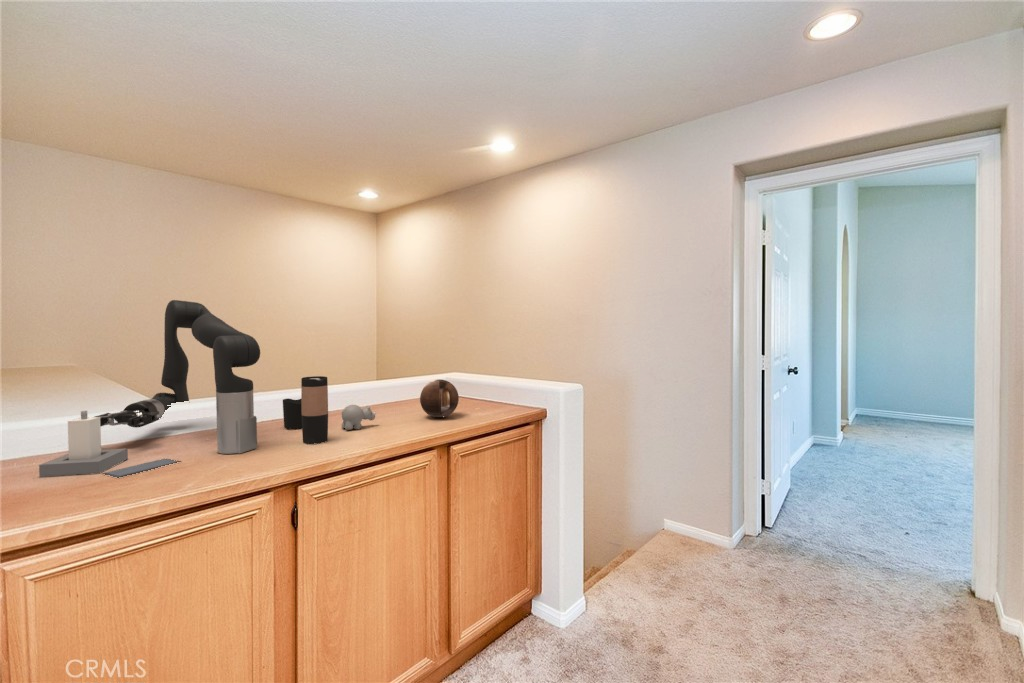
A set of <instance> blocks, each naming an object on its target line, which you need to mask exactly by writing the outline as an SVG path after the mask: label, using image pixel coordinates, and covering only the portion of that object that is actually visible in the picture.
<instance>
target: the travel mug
mask: <svg viewBox="0 0 1024 683" xmlns="http://www.w3.org/2000/svg"><path fill="white" fill-rule="evenodd" d="M300 383H301V384H300V386H301V388H300V389H301V397H300V399H301V403H302V429H301V431H302V432H301V433H302V443H303V444H304V443H307V444H306V445H315V444H314V443H319V444H322V443H321V442H324V443H326V442H328V440H329V439H328V438H329V436H328V435H329V392H328V391H329V390H328V386H329V385H328V384H329V383H328V377H327V376H323V375H322V376H320V375H317V376H314V375H313V376H304V377H301V381H300ZM325 441H326V442H325Z"/></svg>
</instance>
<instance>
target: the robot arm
mask: <svg viewBox="0 0 1024 683" xmlns="http://www.w3.org/2000/svg"><path fill="white" fill-rule="evenodd" d="M164 311H165V313H164V333H163V334H164V358H163V359H164V361H163V368H162V374H161V380H160V381H161V382H160V384H161V385H162V387H165V388H167V389H170V390H172V392H173V393H170V392H158V393H156V394H154V395H153V397H152V398H148V399H143V400H139V401H137V402H133V403H130V404H128V405H127V406H126V407H124V409H123V410H121V411H119V412H113V413H111V412H110V413H109V412H106V413H103V414H99V415H94V417H100V428H102V427H104V426H107V425H108V426H111V427H112V426H113V427H114V426H119V425H127V426H128V427H132V428H141V427H144V426H147V425H149V424H152V423H155V422H156V421H159V420H160V419H162V418H161V417H162V415H163V414H164V412H165V410H167V409H168V408H169V407H171V406H167V405H171V403H176V402H184V401H189V402H190V398H189V392H188V386H187V379H188V372H189V369H190V368H189V367H190V365H189V364H190V363H189V360H188V356H187V355H186V353H185V351H184V349H183V348H182V346H181V343H180V342H179V339H178V329H179V328H180V329H181V328H182V329H191V334H192V336H193V338H194V339H195V340H196V341H197V342H199V343H200V344H201V345H203V346H204V347H207V348H209V349H212V355H213V356H212V358H213V367H214V368H213V369H214V382H215V383H214V384H215V396H216V397H215V398H216V399H215V400H216V403H215V406H216V442H217V443H216V445H217V448H216V449H217V450H216V451H217V453H218V454H224V455H229V454H230V455H231V454H243V453H245V452H249V451H252V450H255V449H258V433H257V432H258V426H257V425H258V424H257V422H258V419H257V416H256V415H254V414H255V411H254V410H255V408H254V406H255V405H254V404H255V403H254V382H253V380H251V379H249V378H244V377H240V376H238V375H236V374H235V373H234V372H233V369H232V368H246V367H250V366H253V365H256V363H258V361H259V360H260V357H261V349H260V348H261V347H260V345H259V343H258V341H257V340H256V338H254V336H251V335H249V334H247V333H244V332H242V331H240V330H238V329H236V328H235V327H233V326H231V325H229V324H228V323H226V322H225V321H224V320H223V319H221V318H219V317H218V316H215V314H213V313H212V312H211V311H210V310H209V309H208V308H207V307H206V306H205V305H204V304H202V303H199V302H195V301H187V300H177V299H172V300H170V301H169V302H168V303H167V305H166V308H165V310H164ZM159 418H160V419H159Z"/></svg>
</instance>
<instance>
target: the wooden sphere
mask: <svg viewBox="0 0 1024 683" xmlns="http://www.w3.org/2000/svg"><path fill="white" fill-rule="evenodd" d="M459 400H460V398H459V393H458V389H457V388H456V387H455V385H454V384H453V383H451V382H450V381H449V380H446V379H433V380H432V381H429V382H428V383H426V385H425V386H423V388H422V390H421V392H420V396H419V403H420V406H421V408H422V410H423V412H424V413H426V414H427V415H428V416H430V417H432V416H433V417H432V418H435V417H443V416H446V417H448V416H450V415H452V414H453V413H454V411H455V410H456V409H457V407H458V404H459ZM443 418H444V417H443Z"/></svg>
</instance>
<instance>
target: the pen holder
mask: <svg viewBox="0 0 1024 683" xmlns="http://www.w3.org/2000/svg"><path fill="white" fill-rule="evenodd" d="M282 413H283V414H282V416H283V427H284V429H285V428H286V430H302V429H301V428H302V403H301V398H299V399H292V398H284V399H282Z"/></svg>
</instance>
